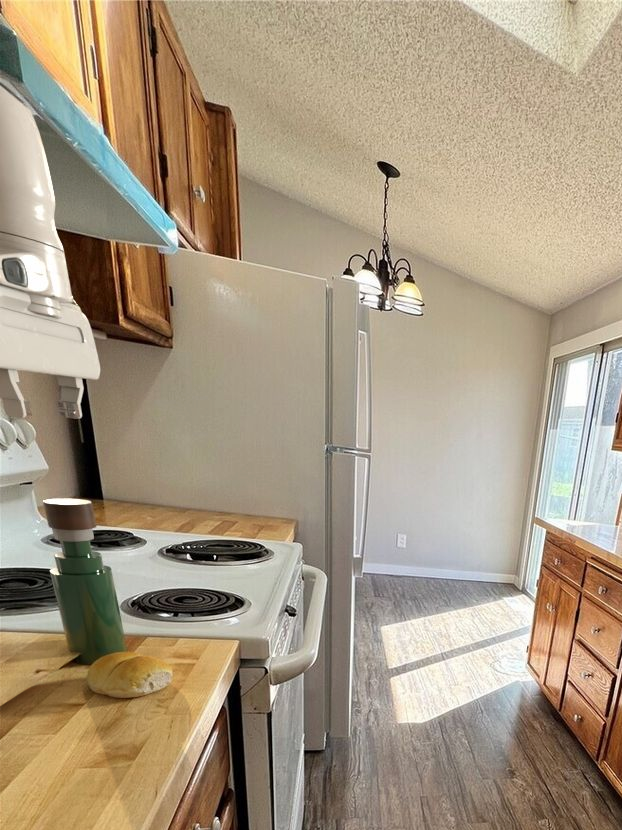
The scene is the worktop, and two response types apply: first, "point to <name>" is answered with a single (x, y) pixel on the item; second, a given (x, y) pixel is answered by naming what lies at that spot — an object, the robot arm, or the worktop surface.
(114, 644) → the green bottle
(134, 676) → the bread roll
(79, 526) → the brown cylinder puck
